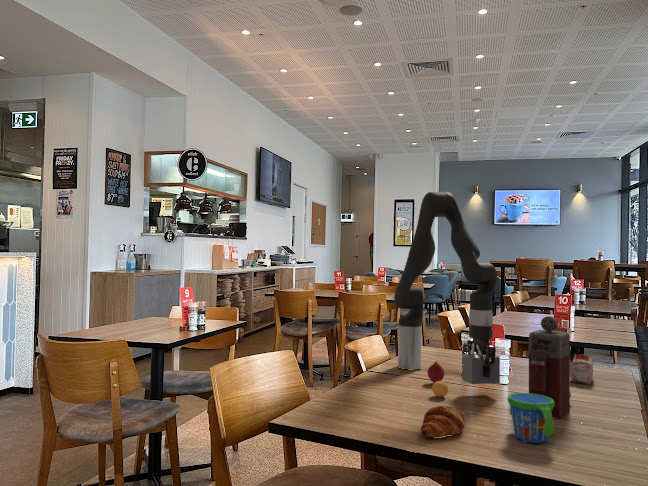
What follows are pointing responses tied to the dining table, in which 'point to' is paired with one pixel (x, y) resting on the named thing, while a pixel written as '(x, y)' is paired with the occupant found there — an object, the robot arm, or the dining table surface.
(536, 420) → the snack cup
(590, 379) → the food item
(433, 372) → the onion
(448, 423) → the croissant
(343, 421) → the dining table surface
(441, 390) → the ball
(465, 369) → the grey rectangular box
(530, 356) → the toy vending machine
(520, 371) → the dining table surface
